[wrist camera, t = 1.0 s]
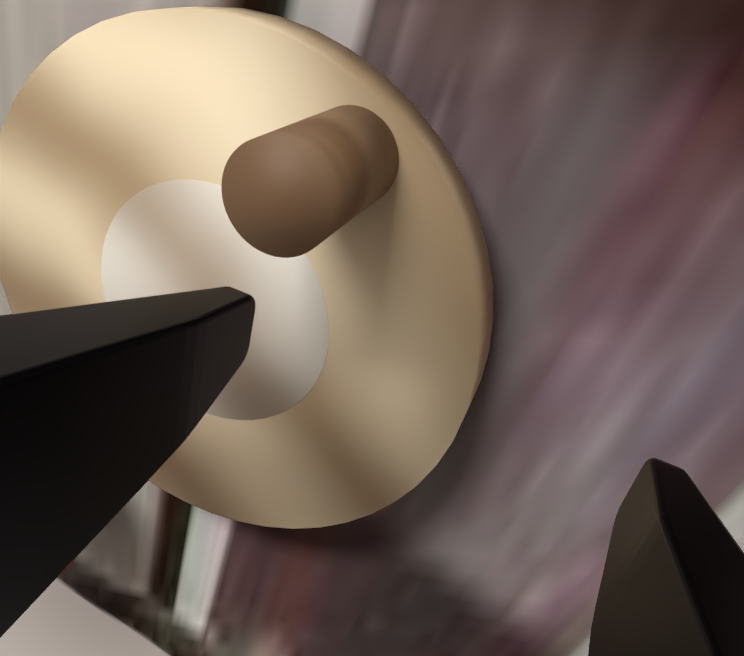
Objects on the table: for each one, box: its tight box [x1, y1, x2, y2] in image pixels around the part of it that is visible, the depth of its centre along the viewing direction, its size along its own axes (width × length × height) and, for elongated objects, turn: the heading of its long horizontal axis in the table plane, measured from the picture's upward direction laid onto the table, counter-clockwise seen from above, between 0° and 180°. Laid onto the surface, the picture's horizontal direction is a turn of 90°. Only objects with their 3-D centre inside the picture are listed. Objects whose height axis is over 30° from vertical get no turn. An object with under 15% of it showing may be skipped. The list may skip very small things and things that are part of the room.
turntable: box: [0, 6, 494, 529], centre depth 20 cm, size 16×16×6 cm
